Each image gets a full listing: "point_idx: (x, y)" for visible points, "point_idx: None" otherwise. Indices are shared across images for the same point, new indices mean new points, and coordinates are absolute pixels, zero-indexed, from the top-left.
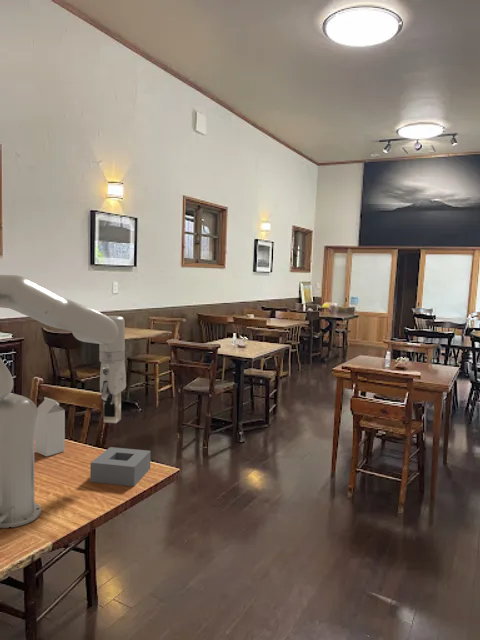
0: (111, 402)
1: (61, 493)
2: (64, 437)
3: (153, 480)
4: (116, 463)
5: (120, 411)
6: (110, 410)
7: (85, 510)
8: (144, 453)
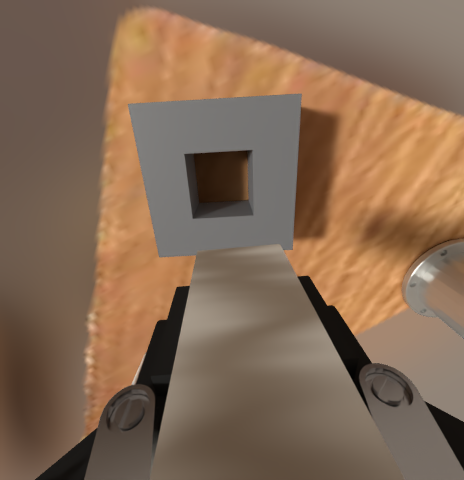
0: (416, 397)
1: (346, 254)
2: (135, 381)
3: (229, 58)
4: (283, 174)
5: (201, 281)
6: (346, 327)
7: (428, 164)
8: (164, 116)
